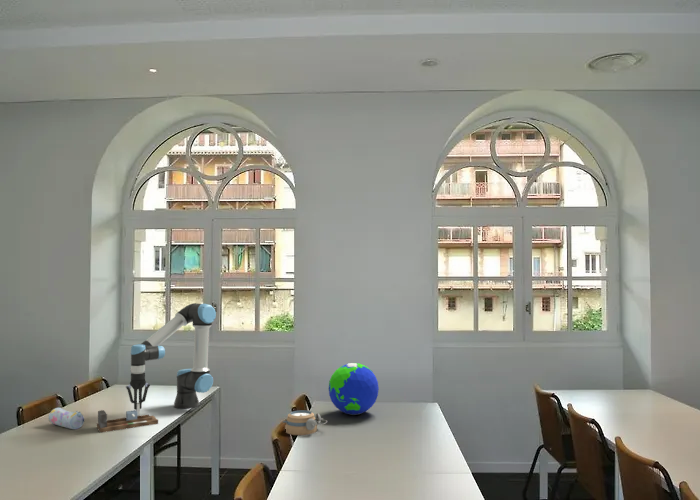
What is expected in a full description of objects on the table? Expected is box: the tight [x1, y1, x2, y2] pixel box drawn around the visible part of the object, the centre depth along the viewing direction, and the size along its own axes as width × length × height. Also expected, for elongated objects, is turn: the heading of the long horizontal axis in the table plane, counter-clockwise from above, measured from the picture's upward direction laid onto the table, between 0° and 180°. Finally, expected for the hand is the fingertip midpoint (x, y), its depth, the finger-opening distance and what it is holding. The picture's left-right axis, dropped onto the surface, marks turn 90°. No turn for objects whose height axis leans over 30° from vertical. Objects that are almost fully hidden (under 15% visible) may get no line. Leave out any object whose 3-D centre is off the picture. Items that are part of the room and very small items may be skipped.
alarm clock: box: [282, 410, 328, 436], centre depth 299 cm, size 17×9×23 cm
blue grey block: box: [125, 409, 137, 421], centre depth 311 cm, size 5×9×5 cm, turn 32°
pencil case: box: [48, 407, 85, 430], centre depth 311 cm, size 21×9×10 cm, turn 61°
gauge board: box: [96, 409, 159, 433], centre depth 312 cm, size 30×12×9 cm, turn 122°
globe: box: [328, 362, 379, 416], centre depth 332 cm, size 30×30×30 cm
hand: (137, 414), depth 315 cm, fingers closed
